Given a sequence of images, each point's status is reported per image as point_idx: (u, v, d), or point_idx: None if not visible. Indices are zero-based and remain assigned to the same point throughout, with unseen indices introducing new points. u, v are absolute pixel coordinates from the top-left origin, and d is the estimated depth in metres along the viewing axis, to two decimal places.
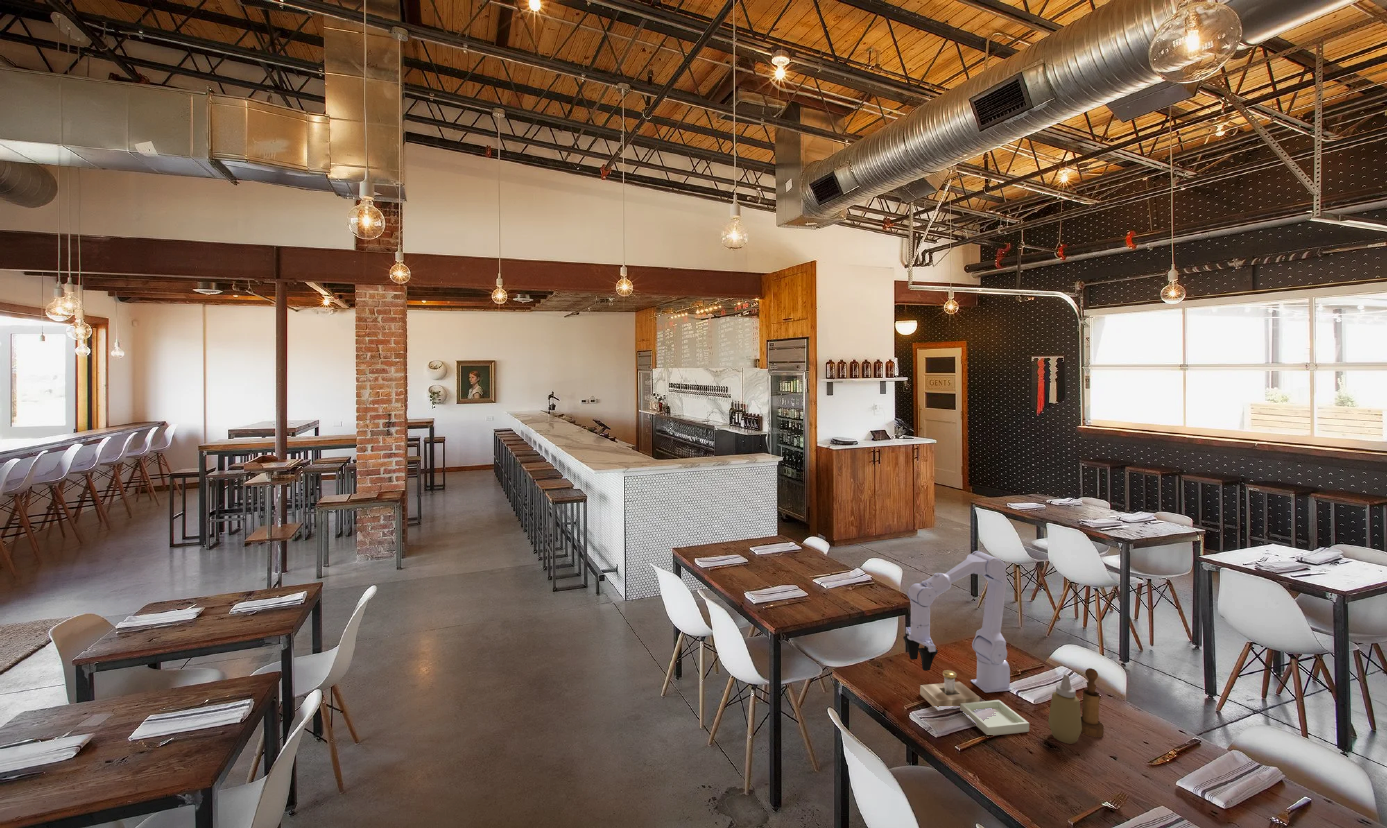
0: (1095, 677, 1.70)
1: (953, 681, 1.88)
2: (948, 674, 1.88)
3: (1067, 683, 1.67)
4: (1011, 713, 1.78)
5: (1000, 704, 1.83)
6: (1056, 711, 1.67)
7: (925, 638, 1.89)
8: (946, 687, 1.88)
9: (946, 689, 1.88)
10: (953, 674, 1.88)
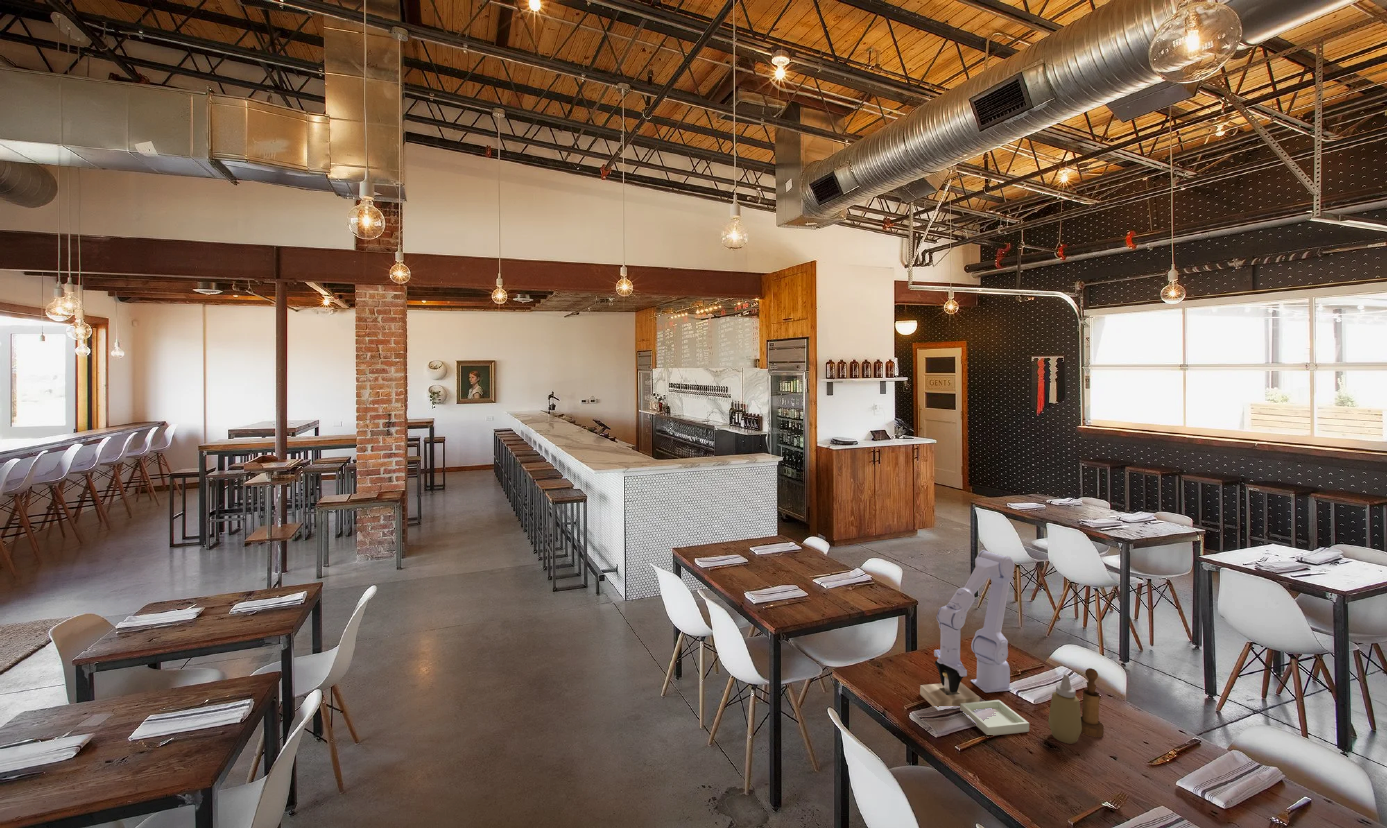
0: (1095, 677, 1.70)
1: None
2: None
3: (1067, 683, 1.67)
4: (1011, 713, 1.78)
5: (1000, 704, 1.83)
6: (1056, 711, 1.67)
7: (955, 662, 1.86)
8: (946, 687, 1.88)
9: (946, 689, 1.88)
10: None
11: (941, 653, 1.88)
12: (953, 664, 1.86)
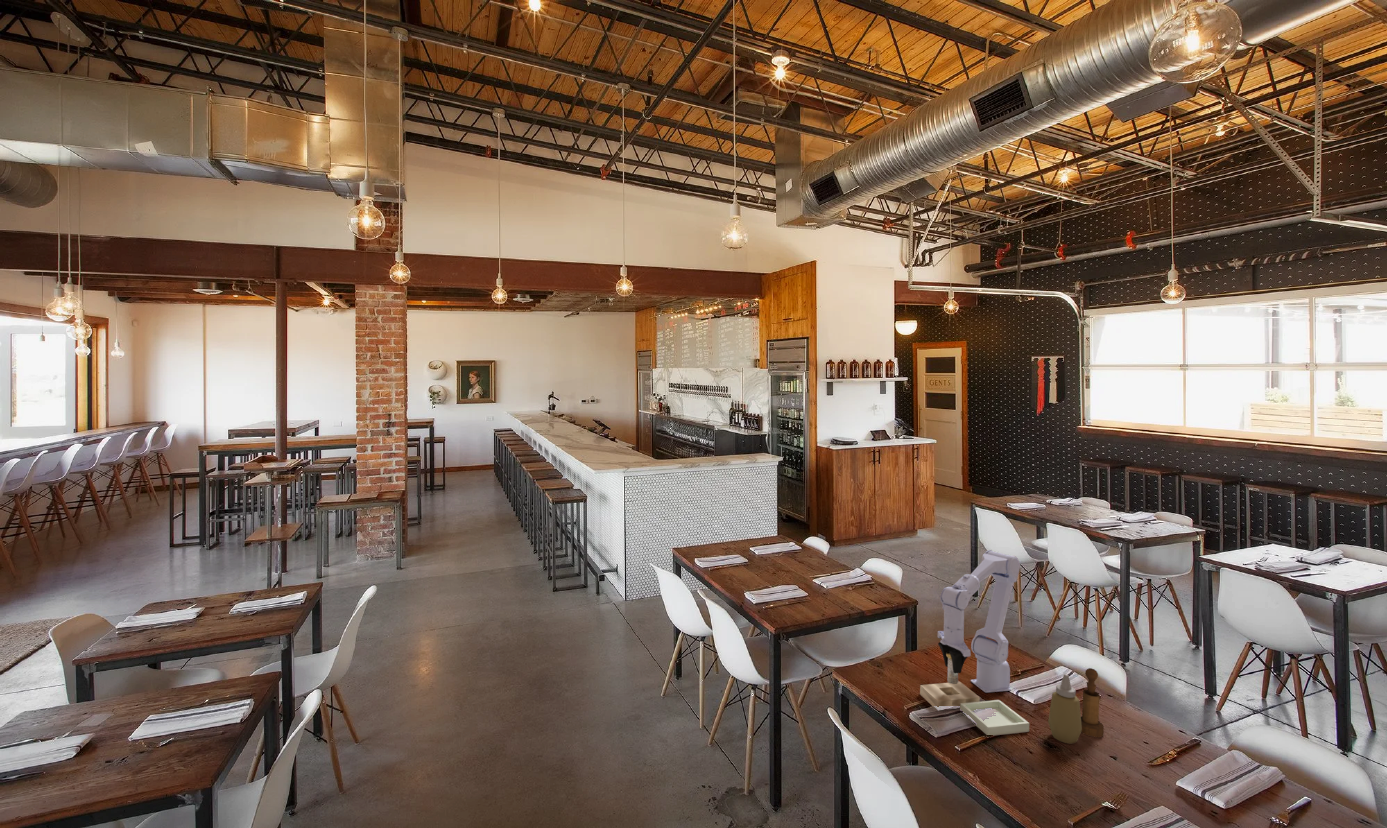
0: (1095, 677, 1.70)
1: None
2: None
3: (1067, 683, 1.67)
4: (1011, 713, 1.78)
5: (1000, 704, 1.83)
6: (1056, 711, 1.67)
7: (959, 642, 1.85)
8: (949, 668, 1.87)
9: (949, 670, 1.87)
10: None
11: (944, 634, 1.87)
12: (957, 645, 1.84)
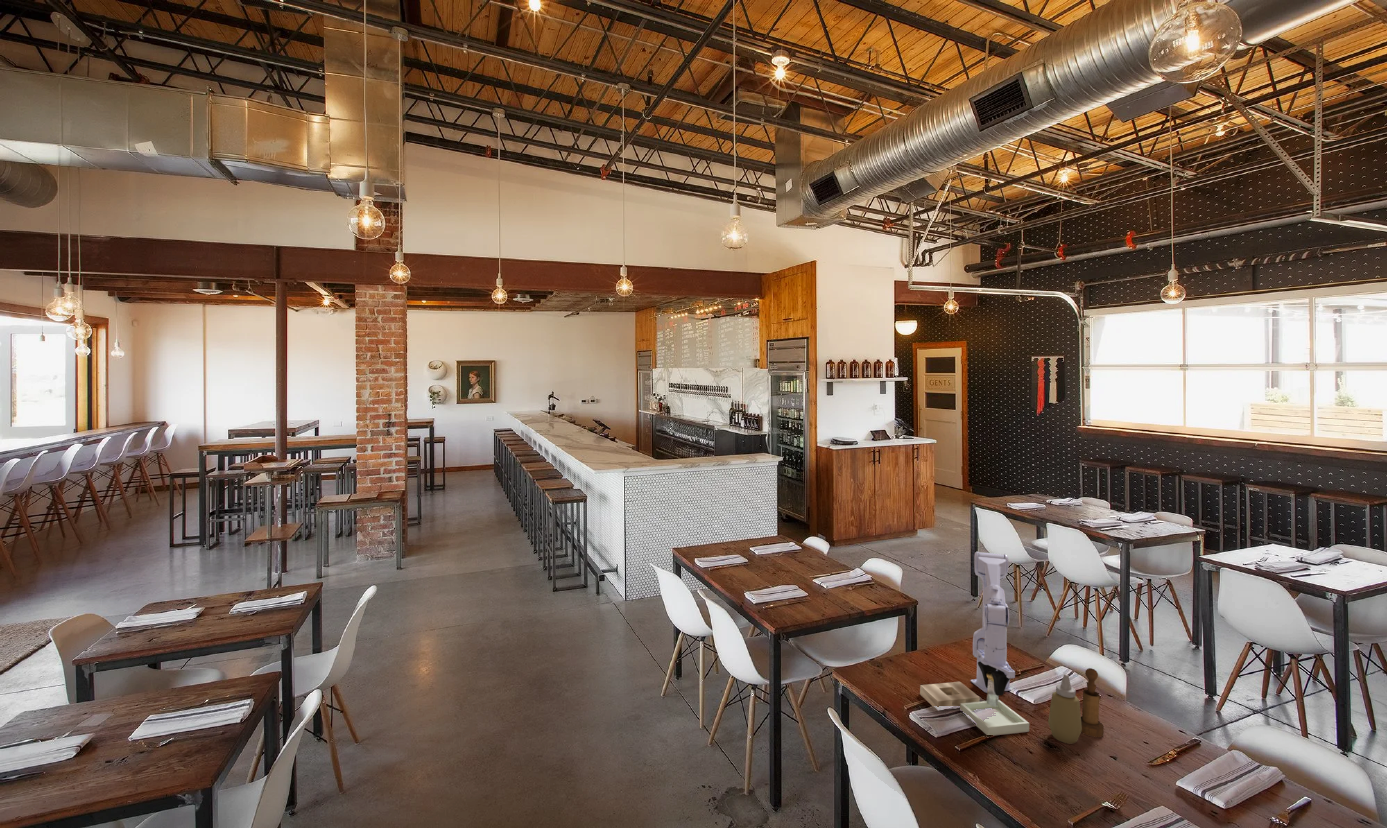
0: (1095, 677, 1.70)
1: None
2: None
3: (1067, 683, 1.67)
4: (1011, 713, 1.78)
5: (1000, 704, 1.83)
6: (1056, 711, 1.67)
7: (1002, 663, 1.74)
8: (990, 690, 1.77)
9: (989, 692, 1.77)
10: None
11: (986, 653, 1.76)
12: (999, 665, 1.74)
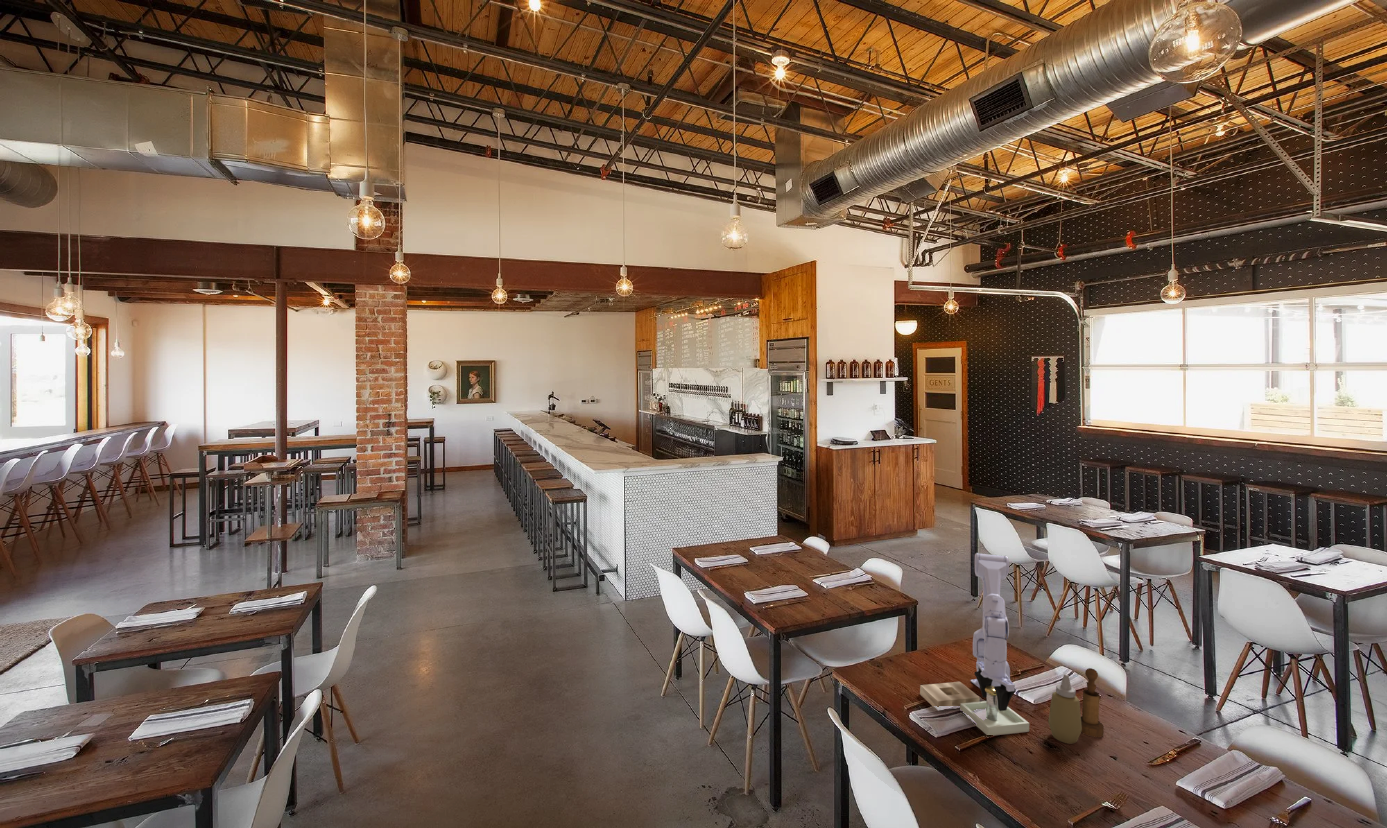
0: (1095, 677, 1.70)
1: (996, 698, 1.76)
2: (991, 690, 1.77)
3: (1067, 683, 1.67)
4: (1011, 713, 1.78)
5: None
6: (1056, 711, 1.67)
7: (1001, 675, 1.74)
8: (989, 704, 1.77)
9: (988, 706, 1.77)
10: None
11: (985, 666, 1.76)
12: (999, 678, 1.74)
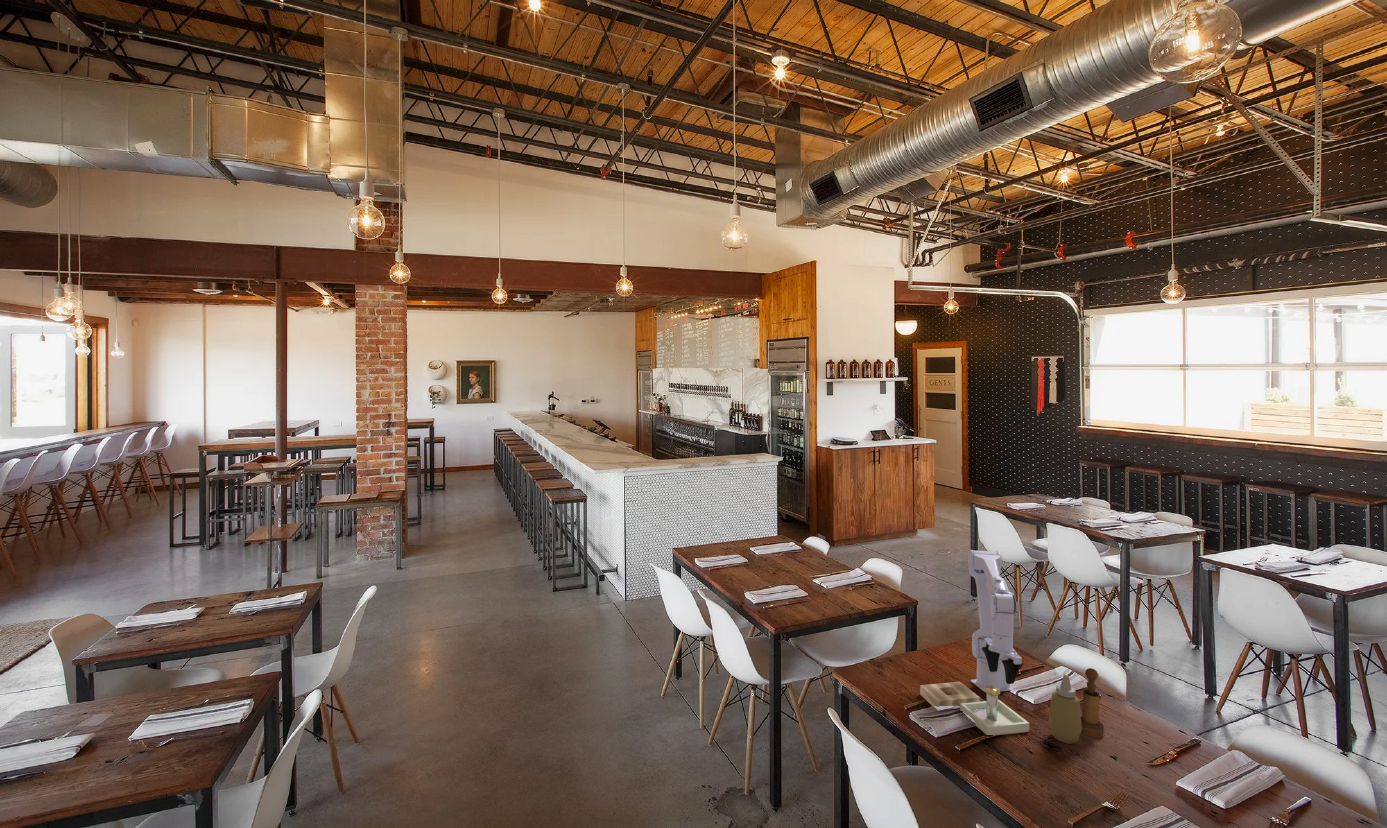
0: (1095, 677, 1.70)
1: (996, 698, 1.76)
2: (991, 690, 1.77)
3: (1067, 683, 1.67)
4: (1011, 713, 1.78)
5: (1000, 704, 1.83)
6: (1056, 711, 1.67)
7: (1009, 650, 1.80)
8: (989, 704, 1.77)
9: (988, 706, 1.77)
10: (996, 690, 1.77)
11: (993, 641, 1.82)
12: (1006, 652, 1.79)
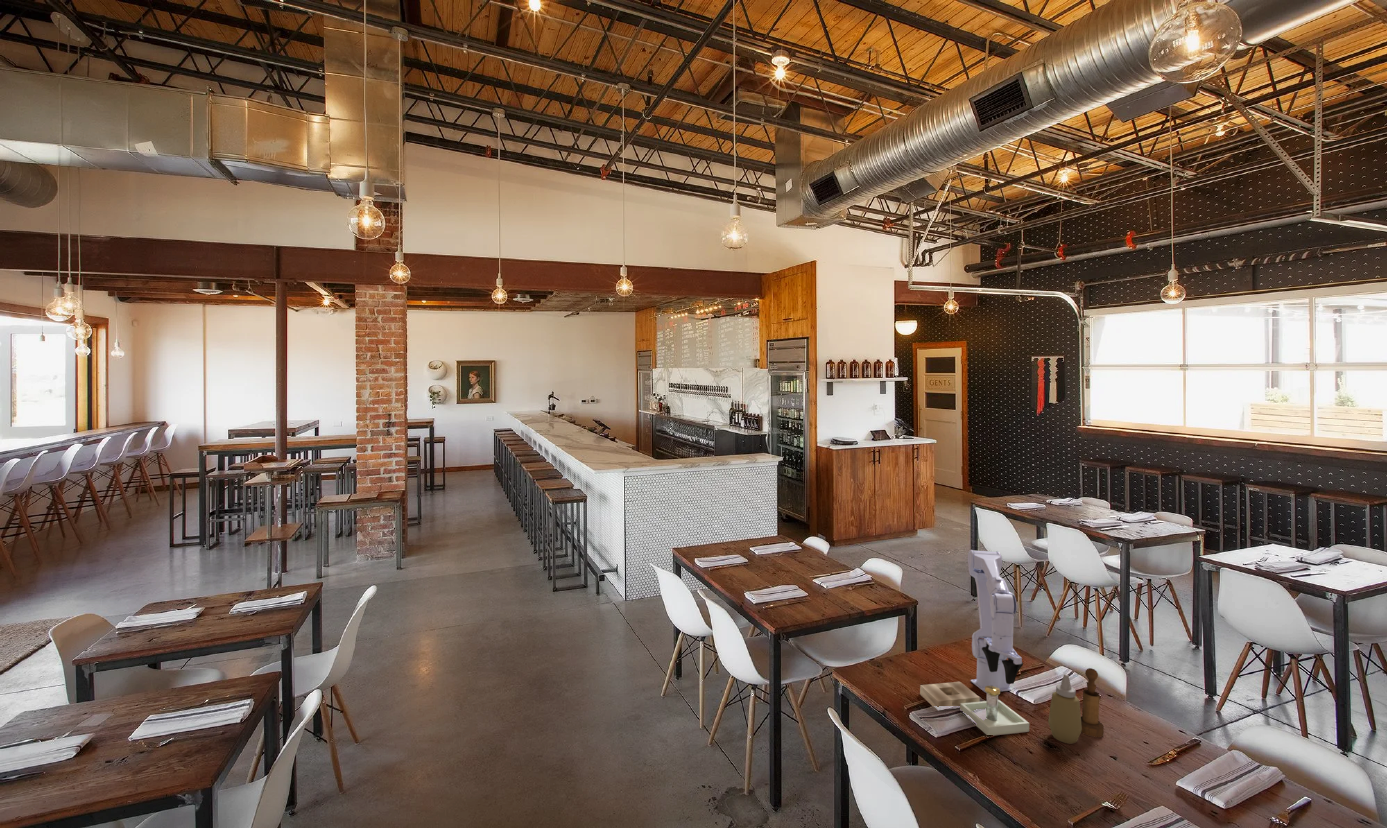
0: (1095, 677, 1.70)
1: (996, 698, 1.76)
2: (991, 690, 1.77)
3: (1067, 683, 1.67)
4: (1011, 713, 1.78)
5: (1000, 704, 1.83)
6: (1056, 711, 1.67)
7: (1009, 650, 1.80)
8: (989, 704, 1.77)
9: (988, 706, 1.77)
10: (996, 690, 1.77)
11: (993, 641, 1.82)
12: (1006, 652, 1.79)
